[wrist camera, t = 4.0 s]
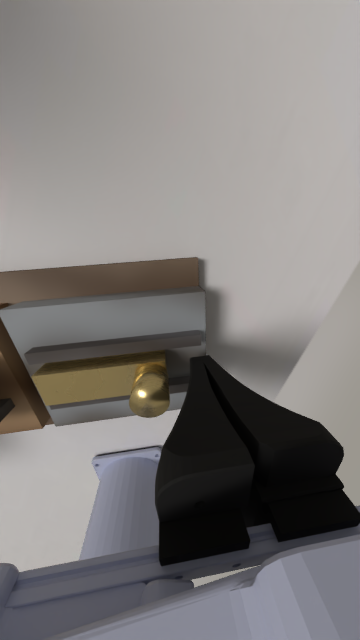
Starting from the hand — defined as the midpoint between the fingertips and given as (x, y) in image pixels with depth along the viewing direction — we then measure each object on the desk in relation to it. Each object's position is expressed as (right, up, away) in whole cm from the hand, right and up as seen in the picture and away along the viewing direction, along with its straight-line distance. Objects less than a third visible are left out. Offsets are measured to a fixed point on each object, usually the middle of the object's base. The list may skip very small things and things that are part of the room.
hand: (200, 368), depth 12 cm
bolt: (-6, 0, +1) cm, 6 cm away
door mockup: (-13, 0, +3) cm, 13 cm away
